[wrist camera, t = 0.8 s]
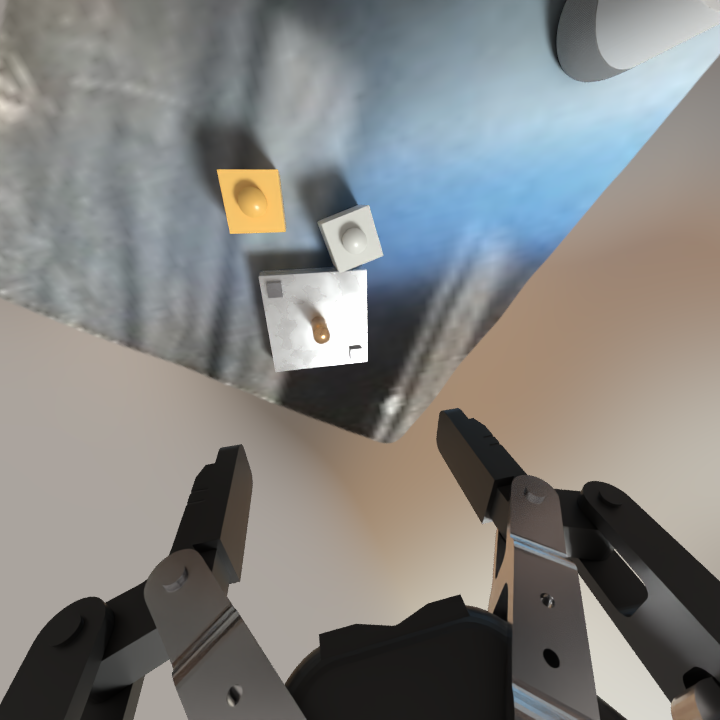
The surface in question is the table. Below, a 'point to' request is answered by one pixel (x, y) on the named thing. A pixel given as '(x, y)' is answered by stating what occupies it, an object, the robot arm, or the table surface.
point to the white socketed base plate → (315, 316)
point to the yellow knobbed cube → (252, 200)
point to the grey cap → (351, 237)
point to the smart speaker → (626, 33)
